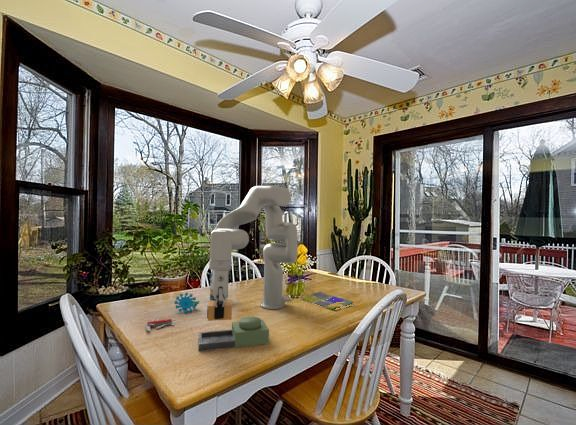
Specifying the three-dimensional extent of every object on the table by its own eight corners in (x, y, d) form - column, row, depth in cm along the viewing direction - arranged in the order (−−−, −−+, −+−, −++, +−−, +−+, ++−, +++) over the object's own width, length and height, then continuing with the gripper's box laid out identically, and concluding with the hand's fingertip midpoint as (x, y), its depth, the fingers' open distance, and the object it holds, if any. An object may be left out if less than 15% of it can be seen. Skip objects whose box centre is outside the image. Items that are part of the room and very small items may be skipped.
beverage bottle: (222, 302, 148) (223, 263, 148) (206, 301, 149) (208, 262, 149) (228, 298, 156) (229, 261, 156) (213, 296, 158) (214, 260, 158)
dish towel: (332, 312, 140) (333, 307, 140) (299, 300, 159) (299, 295, 159) (355, 306, 152) (355, 301, 152) (321, 295, 170) (321, 290, 170)
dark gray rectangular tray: (231, 335, 110) (231, 329, 110) (234, 347, 100) (235, 340, 100) (198, 338, 106) (198, 332, 106) (198, 351, 96) (198, 344, 96)
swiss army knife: (175, 318, 126) (175, 313, 126) (179, 329, 114) (179, 324, 114) (145, 321, 120) (145, 317, 120) (147, 334, 108) (147, 328, 108)
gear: (173, 311, 128) (175, 291, 135) (171, 317, 132) (173, 297, 139) (199, 312, 133) (200, 292, 140) (196, 318, 136) (197, 298, 143)
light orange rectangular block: (230, 313, 107) (230, 300, 107) (231, 319, 101) (232, 305, 101) (207, 314, 105) (207, 301, 105) (206, 320, 99) (207, 306, 99)
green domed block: (262, 332, 113) (263, 314, 113) (268, 343, 104) (269, 324, 104) (231, 335, 110) (232, 316, 110) (234, 347, 100) (235, 327, 100)
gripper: (233, 268, 96) (231, 323, 96) (228, 260, 113) (226, 306, 112) (210, 269, 94) (208, 324, 94) (208, 260, 110) (206, 308, 110)
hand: (218, 314), depth 103 cm, fingers closed on light orange rectangular block, 6 cm apart
